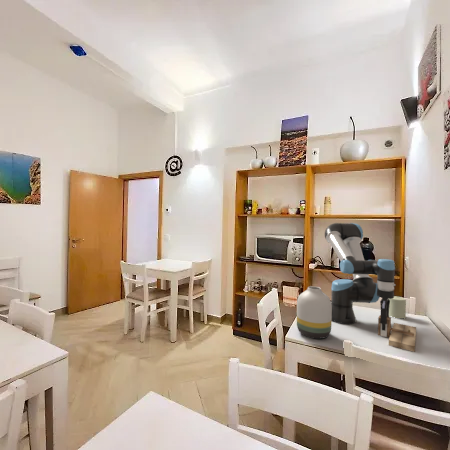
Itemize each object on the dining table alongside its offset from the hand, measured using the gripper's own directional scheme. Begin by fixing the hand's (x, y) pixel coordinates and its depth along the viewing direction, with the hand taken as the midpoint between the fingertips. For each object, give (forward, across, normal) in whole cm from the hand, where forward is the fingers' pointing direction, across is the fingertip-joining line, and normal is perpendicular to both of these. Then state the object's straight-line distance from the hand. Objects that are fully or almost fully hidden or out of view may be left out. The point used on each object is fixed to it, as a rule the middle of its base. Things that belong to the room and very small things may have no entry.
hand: (384, 334), depth 136 cm
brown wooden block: (0, 0, -5) cm, 5 cm away
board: (0, +2, -8) cm, 8 cm away
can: (0, +38, -2) cm, 38 cm away
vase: (+1, -23, +29) cm, 37 cm away
